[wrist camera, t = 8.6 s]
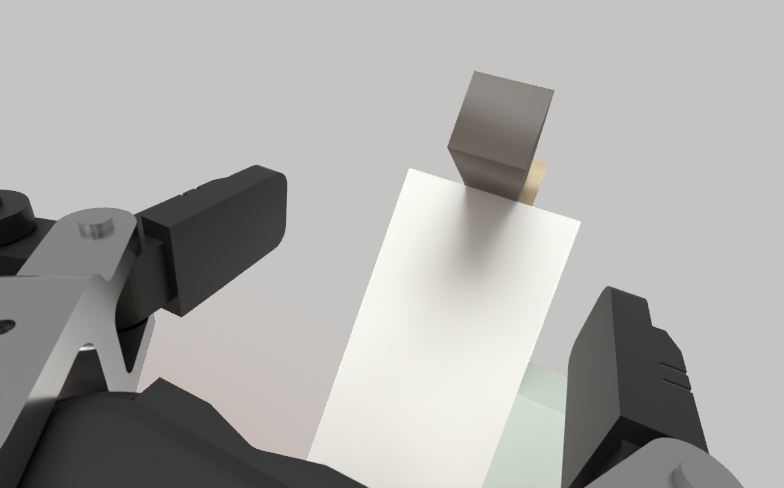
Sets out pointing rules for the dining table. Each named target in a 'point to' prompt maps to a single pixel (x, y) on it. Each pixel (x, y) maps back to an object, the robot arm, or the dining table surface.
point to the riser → (452, 348)
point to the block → (501, 137)
